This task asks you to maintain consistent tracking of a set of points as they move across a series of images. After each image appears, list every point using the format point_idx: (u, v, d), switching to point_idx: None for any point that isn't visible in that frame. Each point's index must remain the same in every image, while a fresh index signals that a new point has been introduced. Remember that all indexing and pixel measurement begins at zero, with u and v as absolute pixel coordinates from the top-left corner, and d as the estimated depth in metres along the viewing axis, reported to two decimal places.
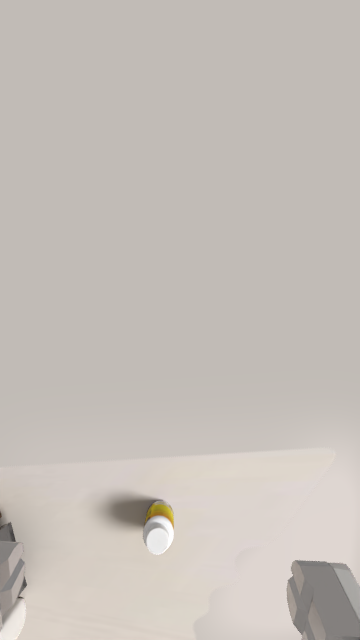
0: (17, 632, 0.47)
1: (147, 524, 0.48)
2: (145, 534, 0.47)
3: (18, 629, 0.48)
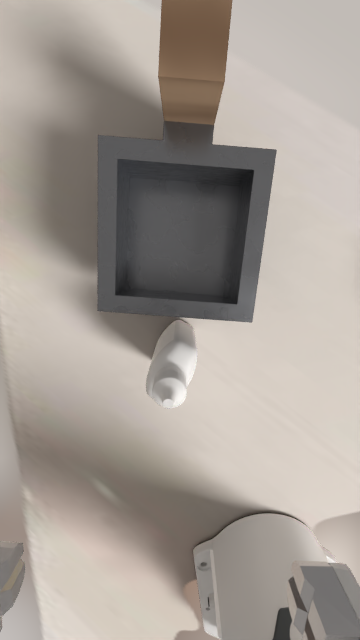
0: None
1: None
2: None
3: None
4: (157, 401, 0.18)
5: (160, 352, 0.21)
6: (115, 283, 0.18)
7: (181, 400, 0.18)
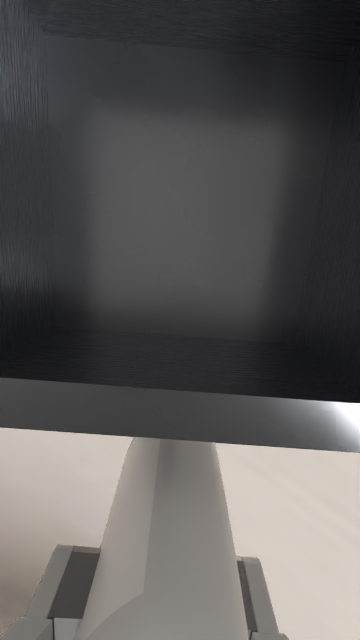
0: None
1: None
2: None
3: None
4: None
5: None
6: None
7: None
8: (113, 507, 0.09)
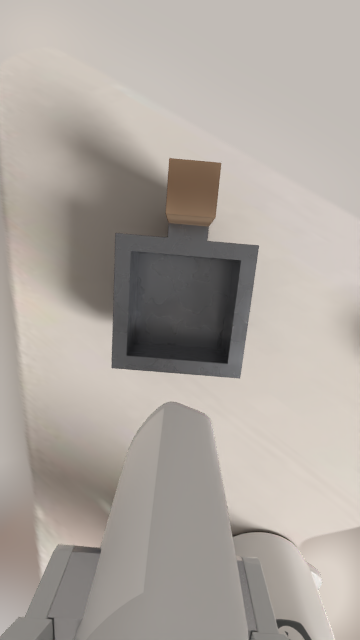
0: None
1: None
2: None
3: None
4: None
5: None
6: (126, 346, 0.22)
7: None
8: (113, 507, 0.09)
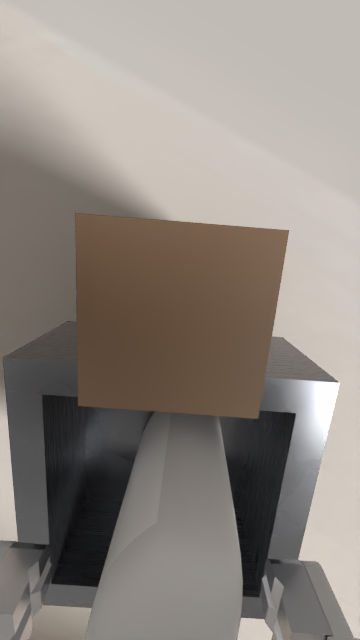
0: None
1: None
2: None
3: None
4: None
5: (115, 575, 0.06)
6: None
7: None
8: (131, 476, 0.10)
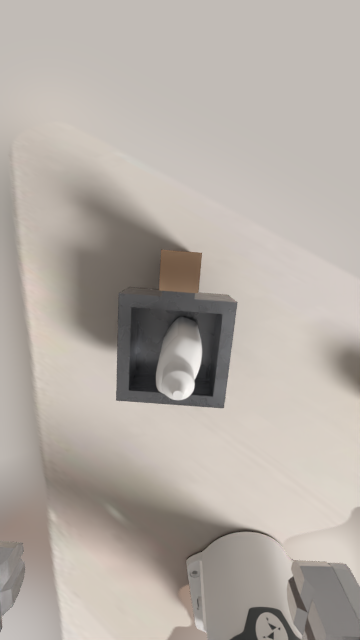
0: None
1: None
2: None
3: None
4: (167, 394, 0.19)
5: (166, 348, 0.22)
6: (128, 382, 0.26)
7: (190, 391, 0.19)
8: (163, 343, 0.26)
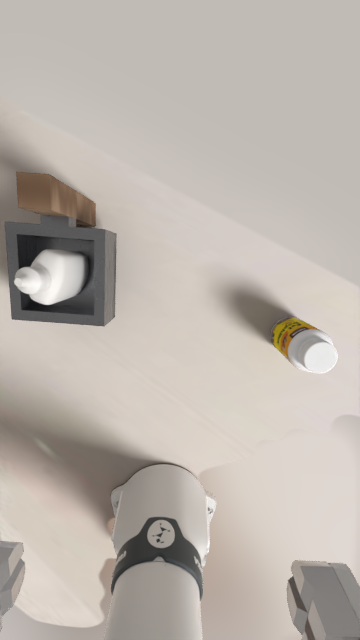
0: (77, 286, 0.31)
1: (306, 333, 0.32)
2: (298, 342, 0.32)
3: (78, 284, 0.32)
4: (19, 288, 0.24)
5: None
6: (21, 303, 0.31)
7: (37, 285, 0.23)
8: None
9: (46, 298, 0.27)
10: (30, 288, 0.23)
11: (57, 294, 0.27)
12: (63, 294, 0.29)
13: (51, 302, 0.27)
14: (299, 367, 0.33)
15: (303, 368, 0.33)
